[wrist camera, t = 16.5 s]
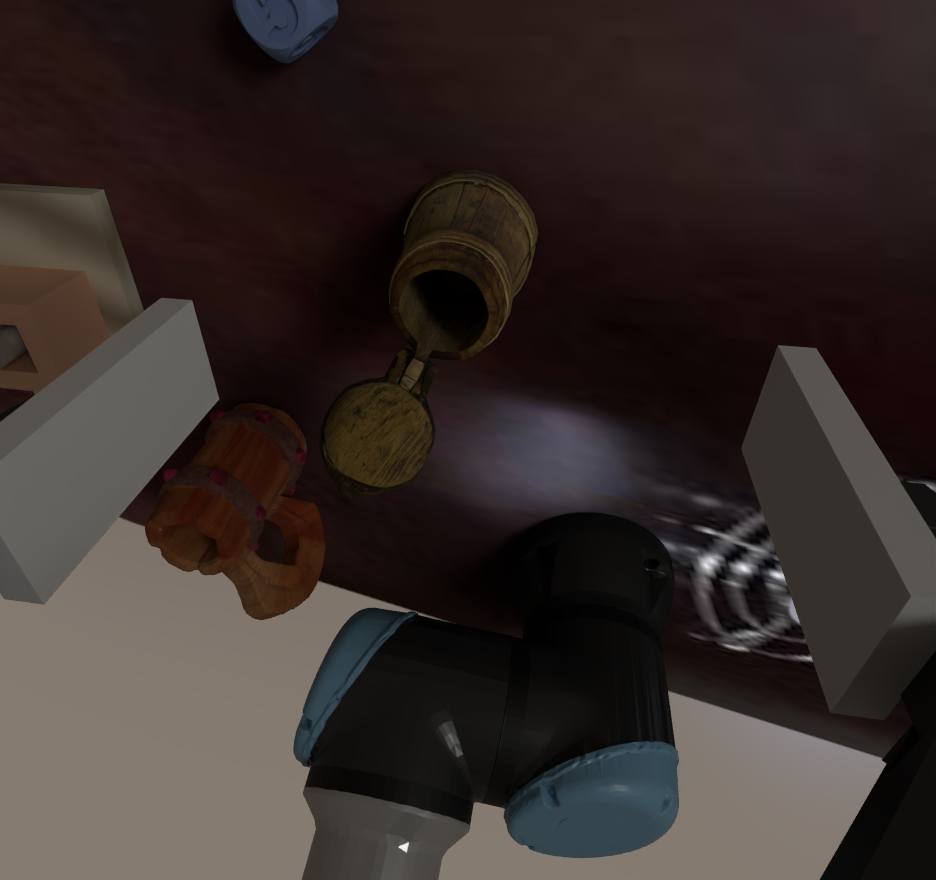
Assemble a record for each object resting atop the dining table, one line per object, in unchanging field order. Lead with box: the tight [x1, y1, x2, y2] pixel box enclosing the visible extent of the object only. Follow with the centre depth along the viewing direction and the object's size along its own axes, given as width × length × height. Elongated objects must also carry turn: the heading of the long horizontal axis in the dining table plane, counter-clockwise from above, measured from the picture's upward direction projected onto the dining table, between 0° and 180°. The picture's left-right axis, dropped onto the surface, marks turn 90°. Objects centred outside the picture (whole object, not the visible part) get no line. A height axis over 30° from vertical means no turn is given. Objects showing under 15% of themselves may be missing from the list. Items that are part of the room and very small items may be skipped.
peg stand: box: [0, 183, 144, 395], centre depth 44 cm, size 18×12×14 cm, turn 179°
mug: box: [145, 403, 325, 620], centre depth 49 cm, size 15×8×15 cm, turn 37°
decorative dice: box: [232, 0, 338, 63], centre depth 33 cm, size 4×4×4 cm
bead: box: [0, 265, 110, 392], centre depth 46 cm, size 7×7×6 cm
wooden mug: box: [319, 170, 538, 498], centre depth 36 cm, size 9×14×18 cm, turn 151°
